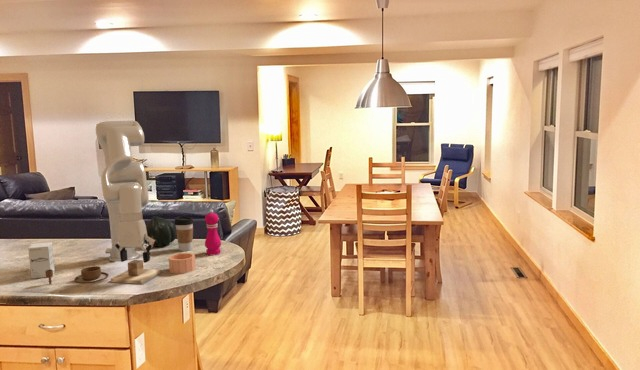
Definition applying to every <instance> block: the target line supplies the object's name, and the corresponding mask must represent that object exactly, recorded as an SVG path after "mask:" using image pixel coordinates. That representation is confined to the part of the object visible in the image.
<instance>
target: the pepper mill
mask: <svg viewBox="0 0 640 370" xmlns="http://www.w3.org/2000/svg"><path fill="white" fill-rule="evenodd" d="M219 220H220V219H219V215H218V214H217V213H214V210H213V209H209V213H207V214H206V215H205V217H204V221H205V222H206V224H205V225H206V227H205V228H207V235H206V238H205V241H204V246H205V248H206V251H205V252H206V253H205V254H206V255H208V256H217V255H219V254H221V246H222V240H221V238H220V235H219V233H218V227H219V226H218V225H219V224H218V221H219Z"/></svg>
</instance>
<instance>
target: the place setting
mask: <svg viewBox="0 0 640 370" xmlns="http://www.w3.org/2000/svg"><path fill="white" fill-rule="evenodd" d="M45 273H46V277H45V278H47V279H48V285H49V286H51V285H53V283H52V278H53V276H54V274H53V270H46V271H45ZM101 275H106V276H104V277H102V278H100V276H101ZM108 277H109V273H107V272H104V271H102V269H101V267H100V266H98V265H97V266H95V265H94V266H87V267H84V268H81V269H80V275H78V276H76V277H74V282H75V283H76V284H93V283H99V282H102V281H104V280H106V279H107V278H108ZM98 278H100V279H98ZM79 279H83V280H85V281H81V280H80V281H79Z"/></svg>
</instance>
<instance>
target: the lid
mask: <svg viewBox="0 0 640 370" xmlns="http://www.w3.org/2000/svg"><path fill="white" fill-rule="evenodd" d="M161 272H162V271H161V269H153V268H151V269H149V268H148V269H147V268H144V262H143V259H142V260H140V259H132V260H129V261H128V262H127V270H125V271H123V272H121V273H119V274H117V275H115V276H113V277H111V278H110V281H111V282H121V283H136V284H142V283H144V282H146V281H148V280H149V279H151V278H153V277H154V276H156V275H158V274H160V273H161Z"/></svg>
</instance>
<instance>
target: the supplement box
mask: <svg viewBox="0 0 640 370" xmlns="http://www.w3.org/2000/svg"><path fill="white" fill-rule="evenodd" d="M53 244H54V243H53V242H52V241H51V242H39V243H38V242H36V243H32V244H30V245H29V246H28V247H27V248H28V249H27V250H28V259H29V268H30V278H31V279H32V280H33V279H39V278H40V279H41V278H42V279H43V278H47V277H46V273H45V271H46V270H53V275H54V274H55V271H56V269H55V258H54V257H55V256H54V248H53V247H54V246H53Z"/></svg>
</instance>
